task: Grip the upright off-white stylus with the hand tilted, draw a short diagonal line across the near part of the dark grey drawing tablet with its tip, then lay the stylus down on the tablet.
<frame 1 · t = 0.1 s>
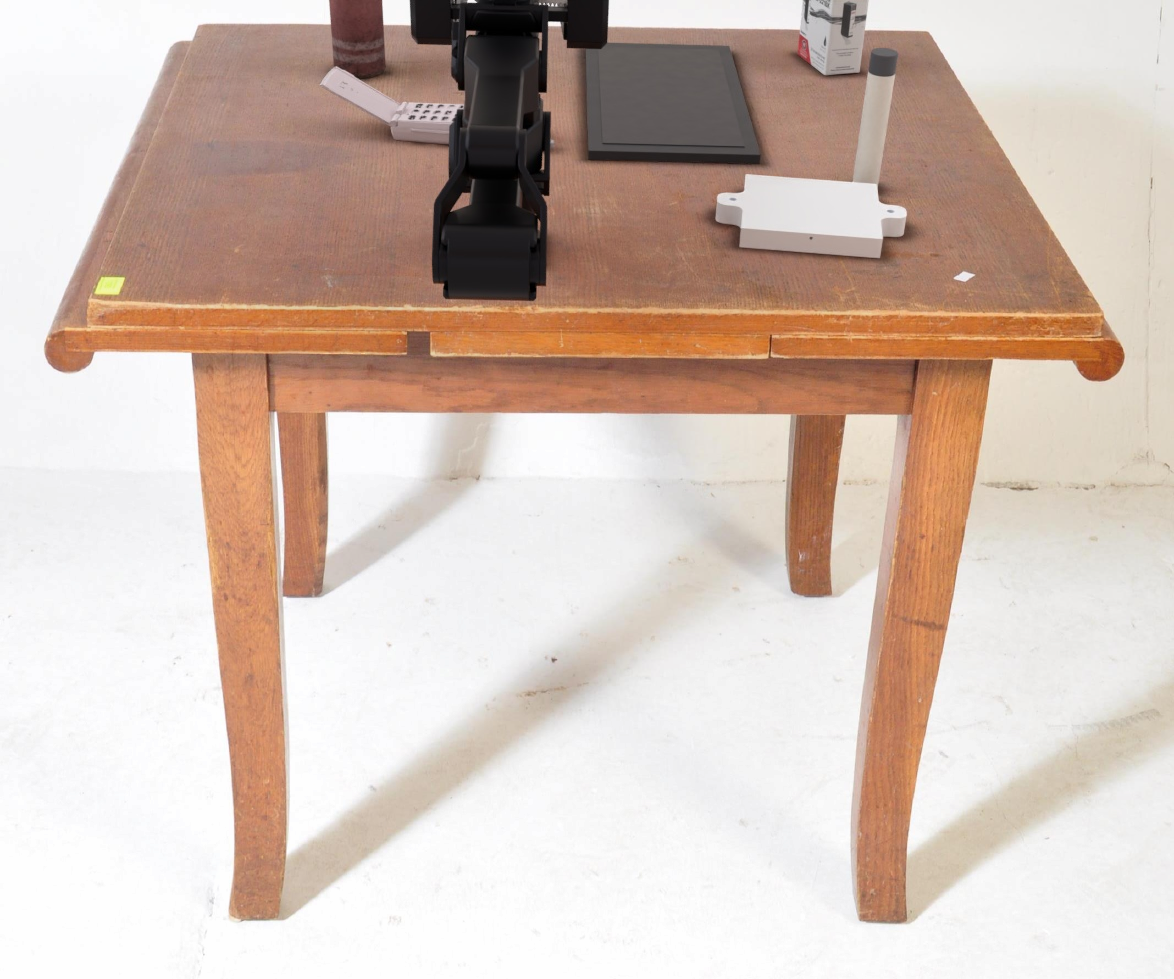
wristwatch: (494, 70, 173), on the table
mounting plate: (808, 225, 138), on the table
stylus: (864, 189, 146), on the table
mobile phone: (441, 138, 155), on the table
ink box: (827, 65, 178), on the table
can: (359, 72, 171), on the table
tablet: (664, 102, 165), on the table
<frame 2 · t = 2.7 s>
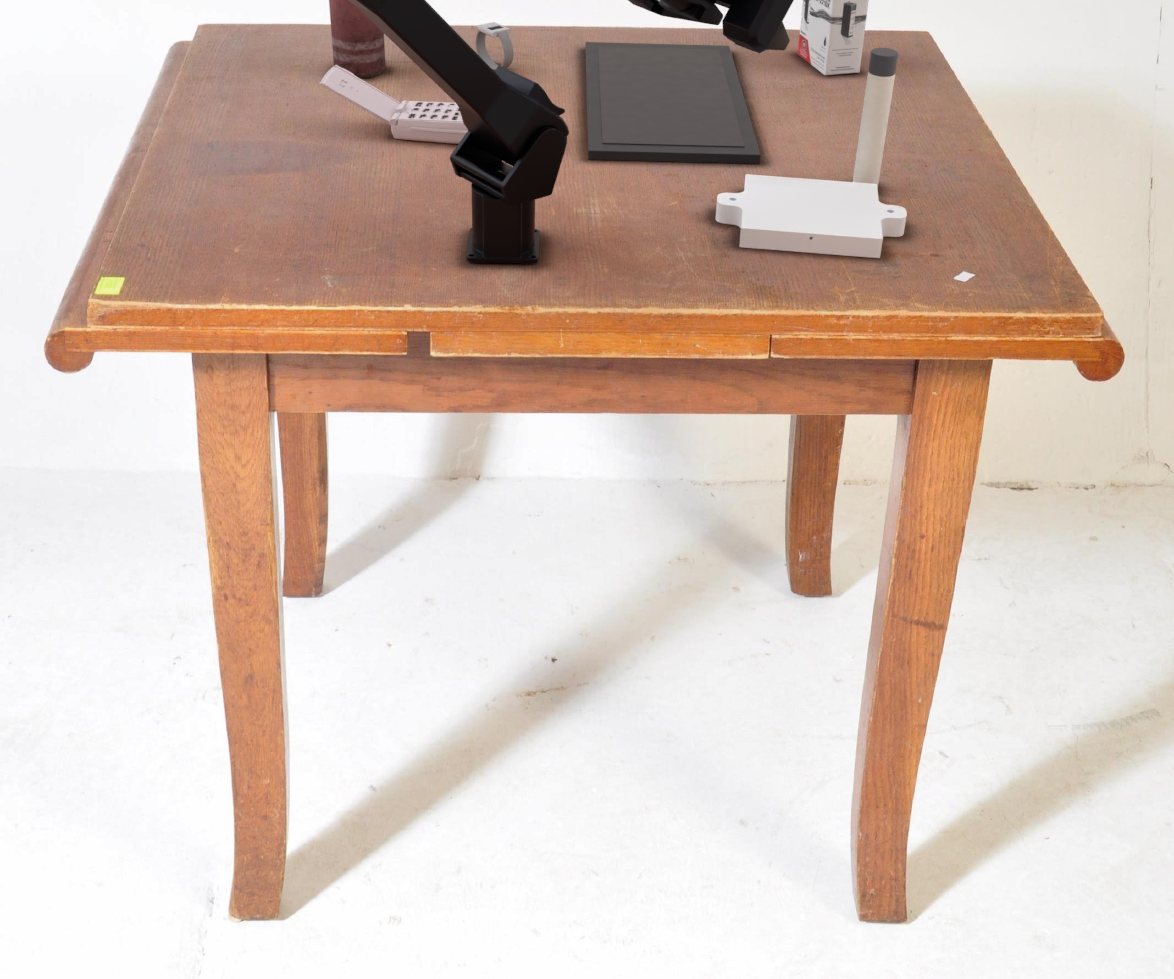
hand: (752, 32, 139), 15 cm above the table, tool tilted 55°, fingers open, 9 cm apart
nothing on the table moved.
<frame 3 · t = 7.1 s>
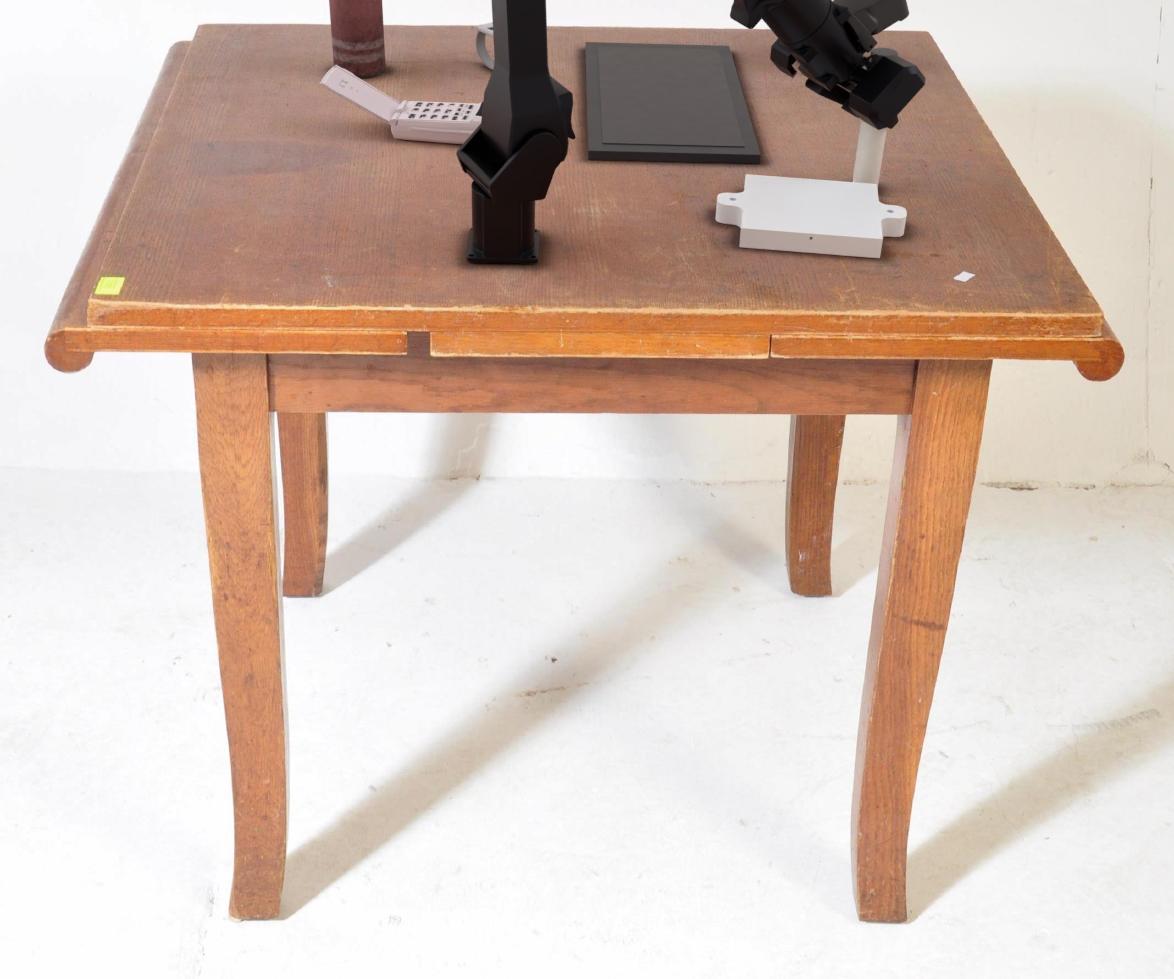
hand: (886, 120, 142), 7 cm above the table, tool tilted 45°, fingers closed on stylus, 2 cm apart
stylus: (864, 189, 146), on the table, touching gripper
everything else where it was.
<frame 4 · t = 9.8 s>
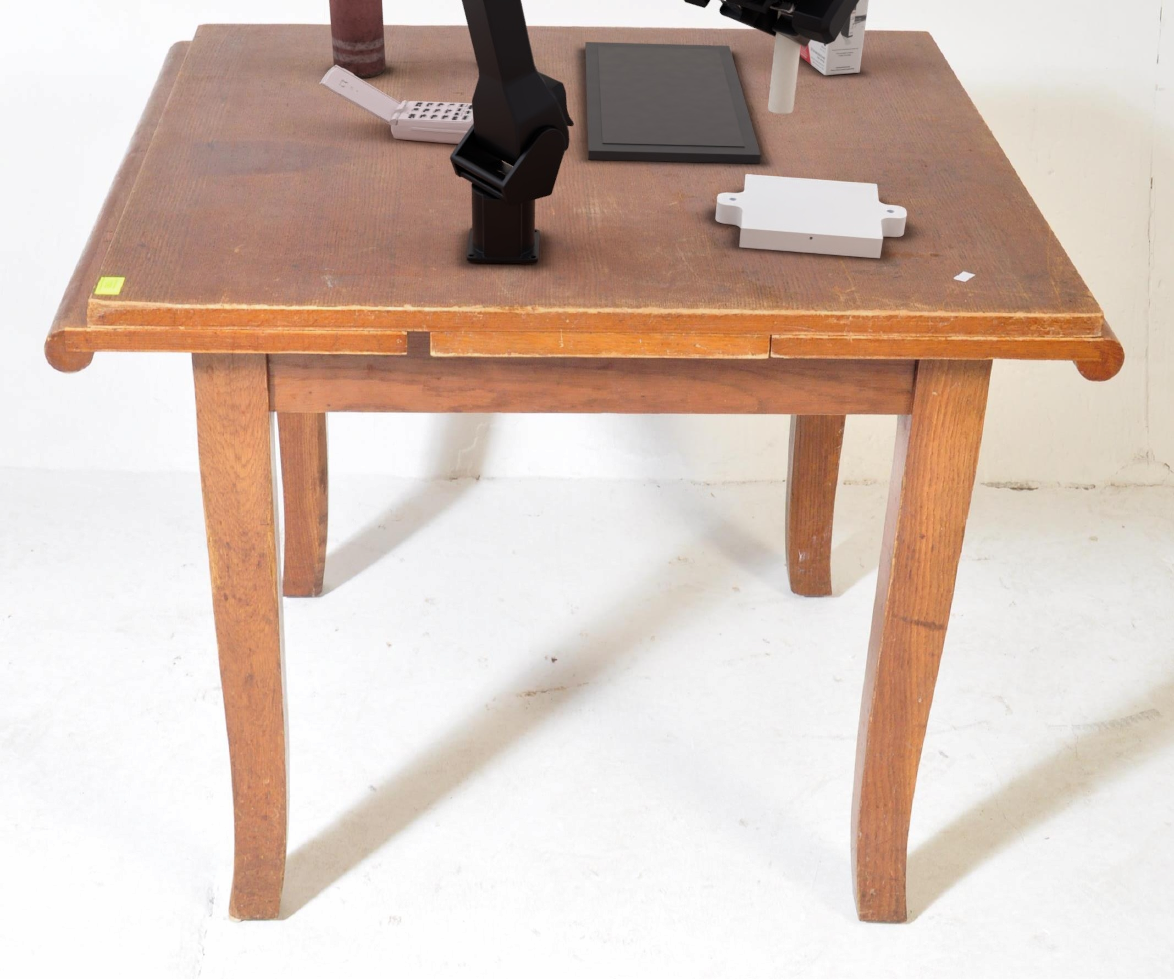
hand: (796, 39, 145), 12 cm above the table, tool tilted 45°, fingers closed on stylus, 2 cm apart
stylus: (780, 110, 148), point 5 cm above the table, touching gripper
everything else where it was.
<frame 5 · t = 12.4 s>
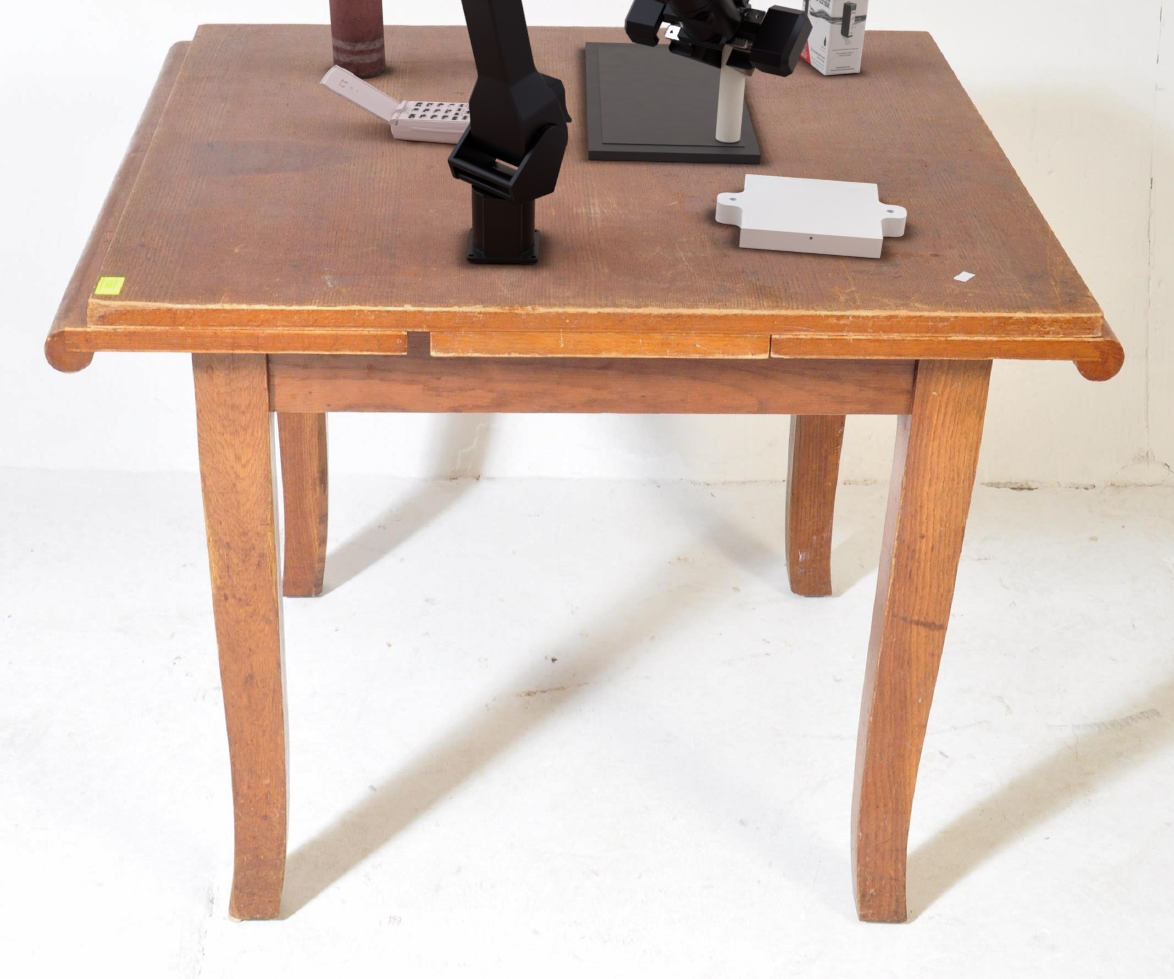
hand: (739, 69, 150), 8 cm above the table, tool tilted 45°, fingers closed on stylus, 2 cm apart
stylus: (727, 138, 153), point 1 cm above the table, touching gripper, tablet
everything else where it was.
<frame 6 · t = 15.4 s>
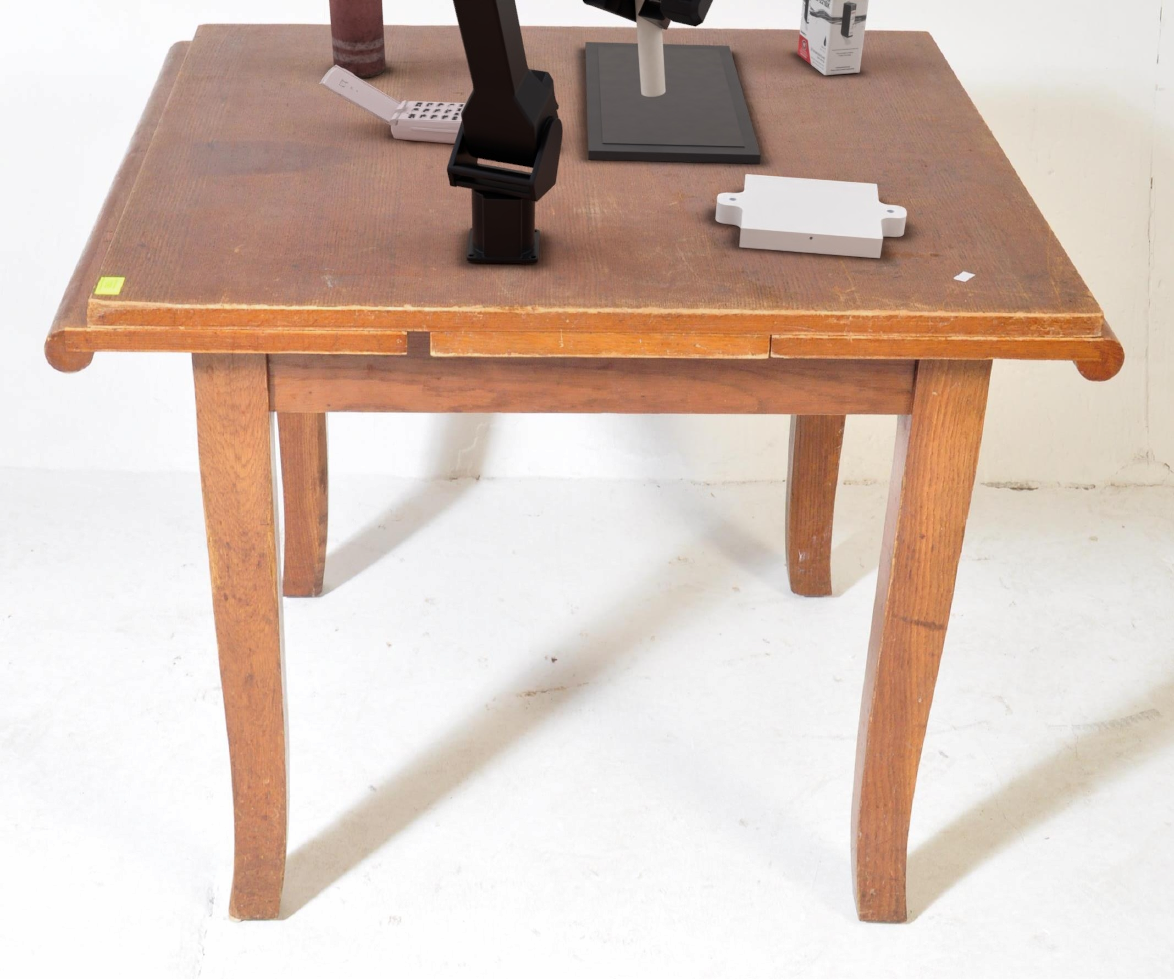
hand: (655, 23, 150), 12 cm above the table, tool tilted 45°, fingers closed on stylus, 2 cm apart
stylus: (653, 92, 153), point 5 cm above the table, tilted 7°, touching gripper
everything else where it was.
when the fingers open (8 cm above the table, at t = 17.8 s): stylus stays where it is, resting on tablet.
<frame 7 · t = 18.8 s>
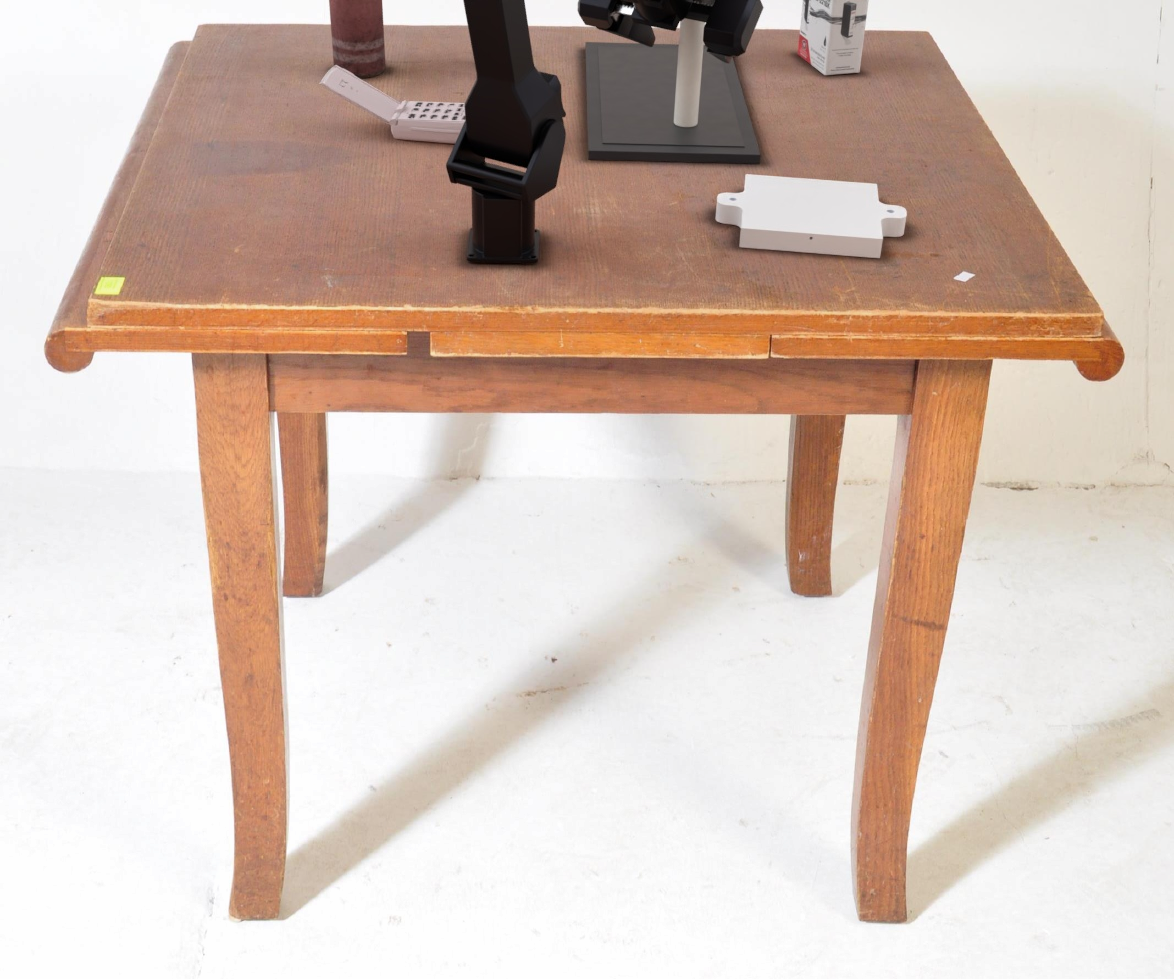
hand: (690, 51, 153), 9 cm above the table, tool tilted 45°, fingers open, 9 cm apart
stylus: (685, 123, 156), point 1 cm above the table, touching tablet
everything else where it was.
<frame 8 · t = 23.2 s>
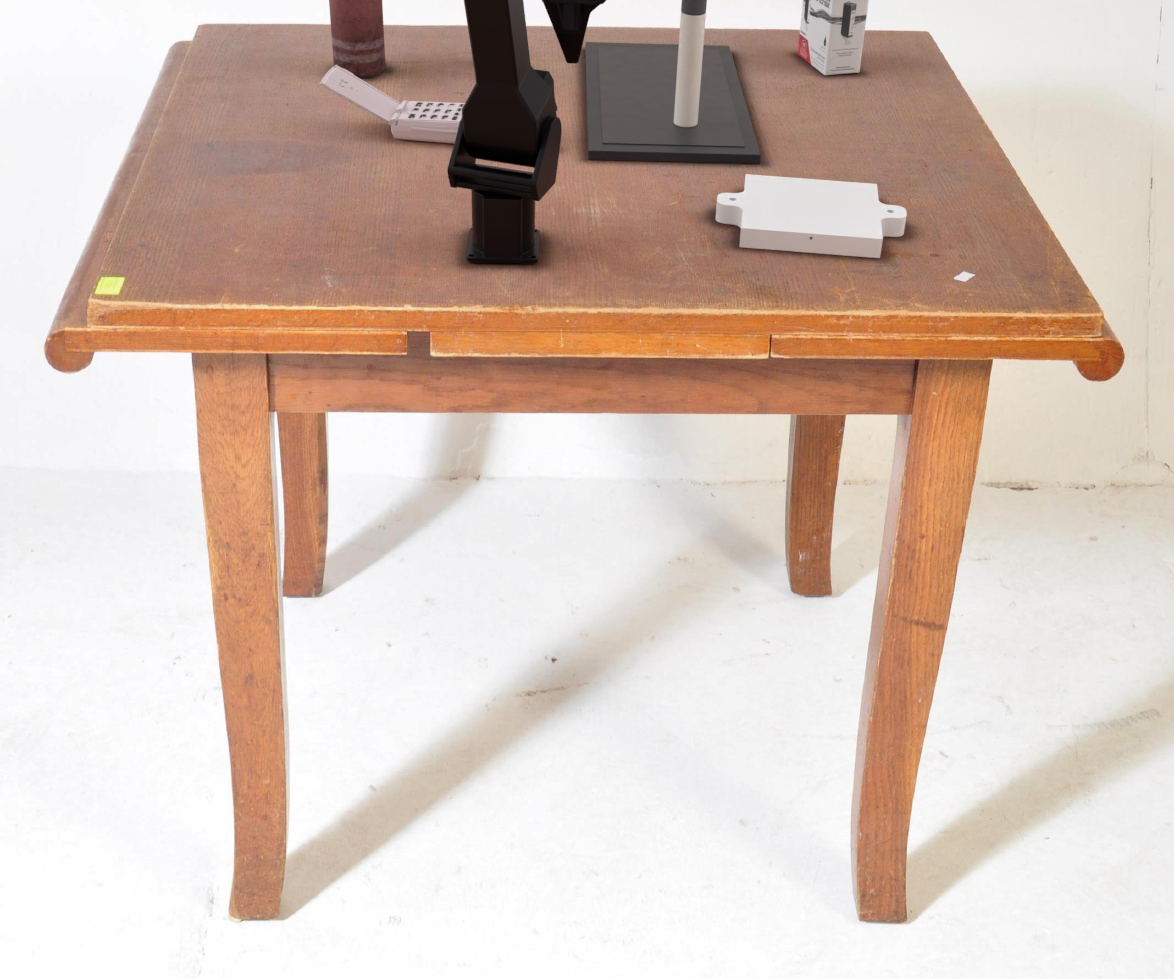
hand: (572, 47, 139), 13 cm above the table, tool pointing down, fingers open, 9 cm apart
nothing on the table moved.
at the end: stylus inside the target area on the tablet (9.7 cm from its centre), point 1.1 cm above the tablet's base; the gripper is holding nothing; stylus moved 22.5 cm from its start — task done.
